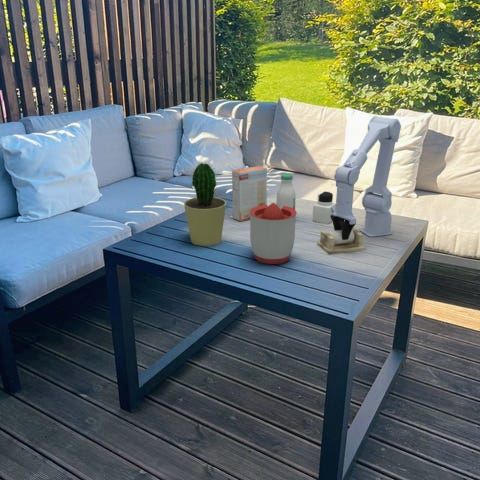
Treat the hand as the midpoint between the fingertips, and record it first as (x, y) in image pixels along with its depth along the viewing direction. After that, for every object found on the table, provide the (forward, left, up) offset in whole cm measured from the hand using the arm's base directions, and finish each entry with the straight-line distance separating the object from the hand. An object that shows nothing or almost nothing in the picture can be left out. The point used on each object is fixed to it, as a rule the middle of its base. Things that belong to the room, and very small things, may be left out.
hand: (341, 236), depth 183 cm
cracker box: (+21, -41, -4) cm, 46 cm away
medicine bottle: (-7, -28, -4) cm, 29 cm away
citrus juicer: (+27, +1, -4) cm, 27 cm away
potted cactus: (+45, -21, -4) cm, 50 cm away
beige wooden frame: (0, 0, -4) cm, 4 cm away
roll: (0, 0, -2) cm, 3 cm away
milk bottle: (+9, -31, -4) cm, 33 cm away
